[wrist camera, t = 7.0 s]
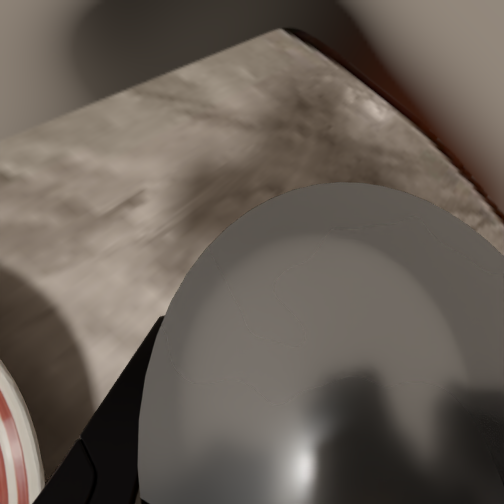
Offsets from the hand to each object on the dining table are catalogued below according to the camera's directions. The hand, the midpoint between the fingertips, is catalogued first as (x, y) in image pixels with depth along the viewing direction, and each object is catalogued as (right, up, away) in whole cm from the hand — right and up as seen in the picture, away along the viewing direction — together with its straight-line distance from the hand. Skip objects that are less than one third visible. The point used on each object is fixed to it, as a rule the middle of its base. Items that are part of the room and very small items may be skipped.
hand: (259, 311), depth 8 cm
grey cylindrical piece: (-1, -3, +6) cm, 7 cm away
